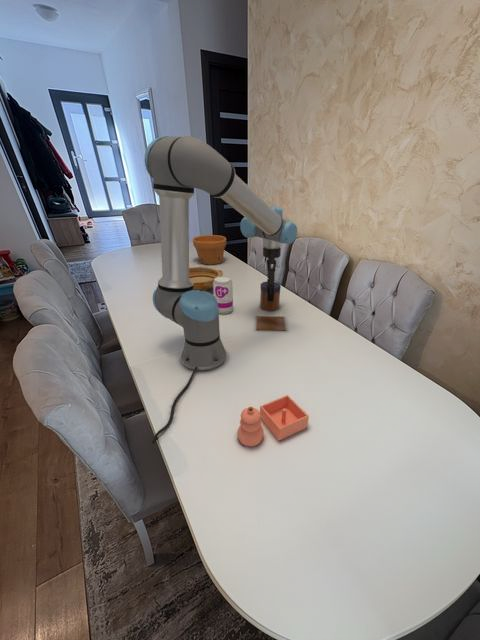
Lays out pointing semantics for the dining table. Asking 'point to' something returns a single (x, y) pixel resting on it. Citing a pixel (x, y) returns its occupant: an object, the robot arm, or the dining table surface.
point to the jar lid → (265, 284)
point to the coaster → (270, 323)
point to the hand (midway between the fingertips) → (270, 296)
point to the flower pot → (210, 248)
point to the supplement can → (223, 294)
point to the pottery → (271, 421)
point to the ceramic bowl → (203, 277)
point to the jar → (269, 304)
